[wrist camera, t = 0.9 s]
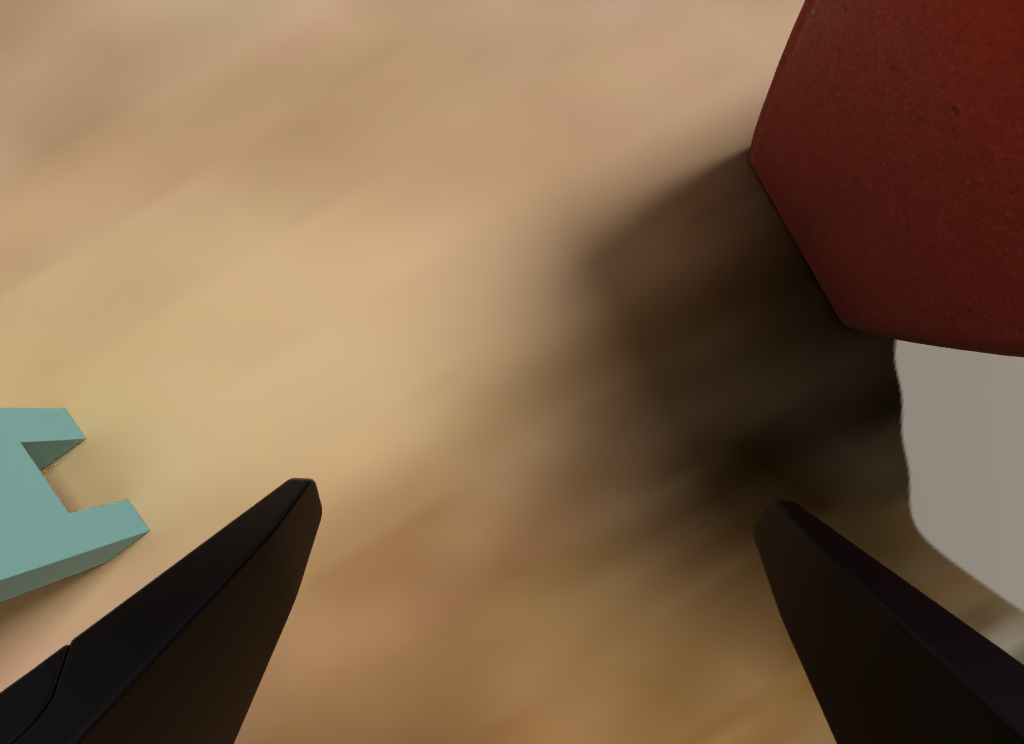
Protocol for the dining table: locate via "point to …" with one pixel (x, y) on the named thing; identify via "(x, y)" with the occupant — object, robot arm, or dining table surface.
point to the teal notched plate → (49, 507)
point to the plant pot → (905, 165)
